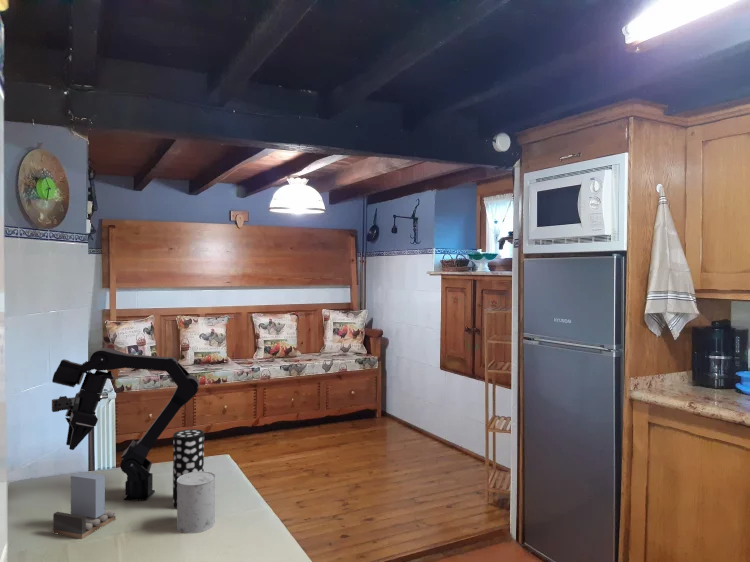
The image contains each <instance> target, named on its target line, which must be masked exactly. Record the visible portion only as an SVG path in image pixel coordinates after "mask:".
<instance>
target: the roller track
mask: <svg viewBox="0 0 750 562" xmlns="http://www.w3.org/2000/svg"><path fill="white" fill-rule="evenodd" d="M115 514H116V511H114V510H109V509H105V514H103V515H101V516H99V517H97V518H90V517H86V516H80V515H74V514H71V513H67V512H62V511H57V512H56V511H55V512H54V513H53V515H52V516H53V521H52V522H53V523H52V524H53V525H52V527H53V532H54V533H58V534H57V535H59V534H61V535H60V536H65V537H71V538H76V539H81V540H82V539H85V538H86V537H88V536H89V535H91V534H93V533H94V531H95V530H96V531H98V530H99V528H100V527H102V526H103V527H105V526H107V525H109V524H110V523H112V522H113V521H116V515H115ZM103 527H102V528H103ZM97 529H98V530H97ZM100 529H101V528H100ZM96 531H95V532H96ZM92 532H93V533H92ZM54 533H53V534H54Z"/></svg>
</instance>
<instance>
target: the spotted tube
mask: <svg viewBox="0 0 750 562" xmlns="http://www.w3.org/2000/svg"><path fill="white" fill-rule="evenodd" d="M172 439H173V441H172V442H173V444H172V446H173V447H172V452H173V453H172V507H173V508H175V509H177V479H178V478H179V477H180V476H182V475H184V474H187V473H191V472H198V471H205V467H204V466H205V431H204V430H202V429H197V428H196V429H193V428H192V429H191V428H190V429H184V430H179V431H175V432H174V433H173V436H172Z"/></svg>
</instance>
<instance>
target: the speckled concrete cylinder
mask: <svg viewBox="0 0 750 562" xmlns="http://www.w3.org/2000/svg"><path fill="white" fill-rule="evenodd" d="M176 515H177V516H176V529H177V531H178V532H180V533H183V534H198V533H203V532H206V531H208V530H210V529H211V528H213V527H214V526H215V524H216V474H215V473H213V472H210V471H206V470H204V471H198V472H191V473H187V474H184V475H182V476H180V477H179V478H178V479H177V508H176Z"/></svg>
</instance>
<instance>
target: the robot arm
mask: <svg viewBox="0 0 750 562" xmlns="http://www.w3.org/2000/svg"><path fill="white" fill-rule="evenodd" d="M118 369H119V370H120V369H136V370H145V371H146V370H148V371H149V370H150V371H159V372H160V371H162V372H166V373H167V375H168V376H169V377H170V378H171V379H172V381H173V383H175V385H176V388H175V390H174V392H173V394H172V396H171V398H170V400H169V402H167V404H166V405H165V406H164V408H163V409H162V410H161V412H160V413H159V415H157V417H156V418H155V420H154V421H153V422H152V424H151V425H150V426H149V428H148V429H147V430H146V432H145V433H144V435H143V436H142V437H141V438H140V439H139V440H138V441H135V439H132V440H131V443H130V444H129V446H128V447H127V448H126V449H124V451H123V453H122V454H121V456H120V458H121V461H120V464H119V466H120V470H121V471H122V472H123V473H124V474H126V481H125V484H124V486H125V488H124V489H125V491H124V492H125V493H124V495H125V497H123V500H124V501H146V500H148V499H149V498H150V497H151V496H152V495H154V494H155V493H156V490H155V489H153V486H154V485H153V478H154V477H153V476H154V475H153V473H152V472H151V473H150V471H151V468H152V465H153V463H152V462H151V461H150V460H149V459H148V458H147V457H148V454H149V453H150V450H151V448H152V447H153V446H154V444H155V443H156V441H157V440H158V439H159V437H160V436H161V435H162V433H163V432H164V430H165V429H166V428H167V426H168V425H169V424H170V422H171V421H172V420H173V418H174V417H175V416H176V414H177V413H178V412H179V410H180V409H181V408H182V407H184V405H186V404H187V403H188V402H189V401H190V400H191V399H192V398H194V396H196V394H197V393H198V391H199V389H200V388H199V386H200V382H199V379H198V377H196V375H193V374H191V373H189V372H188V370H187V369H186V368H185V367H183V365H181V363H179V362H178V359H177V358H176V357H174V356H156V355H143V354H142V355H141V354H133V353H132V354H131V353H130V354H129V353H125V352H122V351H120V350H116V349H112V348H110V347H109V348H108V347H102V348H99V349H97V350H96V351H95V352H93V353H92V354H91V355H90V358H89V360H86V361H85V362H83V363H82V364H81V363H78V362H74V361H70V360H68V359H61V360H60V362H59V365H58V366H57V368H56V370H55V371H54V374H53V376H52V379H51V380H52V381H51V382H52V383H53V384H57V385H61V386H65V387H70V388H75V387H76V386H80V385H81V386H80V388H79V391H78V392H76V394H75V396H74V397H68V396H66V395H64V396H63V395H61V396H59V397H58V398H54V399H53V398H52V399H51V412H52V413H57V412H58V413H59V412H60V411H66V413H65V417H64V418H65V420H66V422H67V423H68V430H67V437H66V442H65V444H66V446H69V447H68V448H69V450H70V451H74V450H75V449H76V448H77V447H78V445H80V444H81V442H82V441H83V440H84V439H85V438H86V436H87V435H88V434H89V433H90V432H91V431H92V430H93V429H94V428H95V427H96V426H97V423H98V421H99V420H98V417H97V415H96V413H97V412H96V409H97V407H98V405H99V402H101V399H102V398H101V397H102V393H103V391H104V388H105V386H106V383H107V380H111V381H115V379H116V377H115V376H114V375H113V370H118ZM92 370H94V371H95V372H90V371H92Z"/></svg>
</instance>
